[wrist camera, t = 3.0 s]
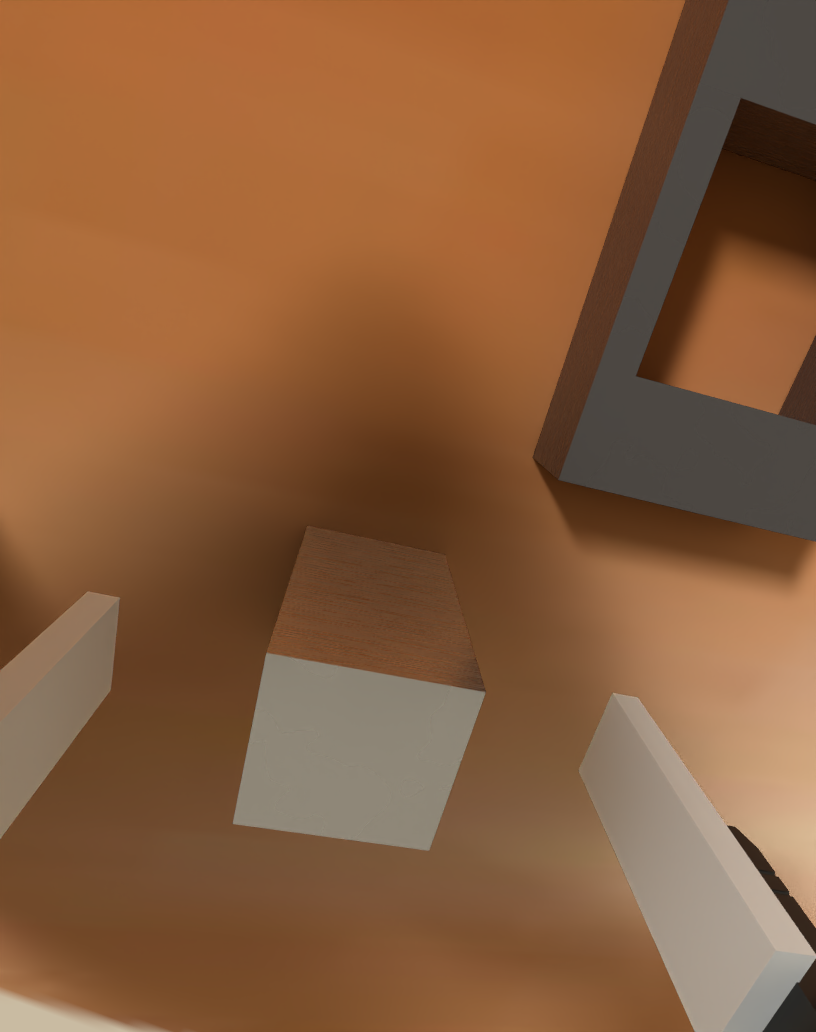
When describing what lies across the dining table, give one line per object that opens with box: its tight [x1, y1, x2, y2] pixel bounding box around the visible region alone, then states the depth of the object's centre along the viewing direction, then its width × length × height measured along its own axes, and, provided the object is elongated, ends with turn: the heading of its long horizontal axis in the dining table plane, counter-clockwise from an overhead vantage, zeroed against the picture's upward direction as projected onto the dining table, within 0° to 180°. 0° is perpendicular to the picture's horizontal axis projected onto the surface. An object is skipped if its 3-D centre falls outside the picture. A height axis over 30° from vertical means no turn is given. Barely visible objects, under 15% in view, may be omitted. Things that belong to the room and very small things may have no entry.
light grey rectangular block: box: [233, 525, 486, 851], centre depth 15 cm, size 4×4×7 cm
